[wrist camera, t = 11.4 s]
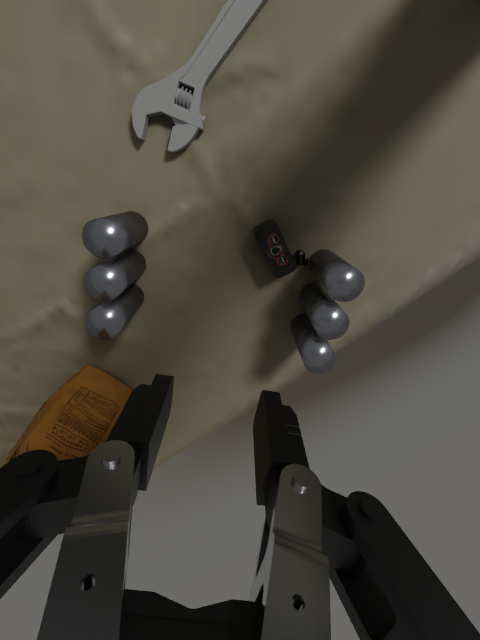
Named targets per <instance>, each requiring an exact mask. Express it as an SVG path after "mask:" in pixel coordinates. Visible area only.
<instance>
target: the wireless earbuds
mask: <svg viewBox="0 0 480 640" xmlns="http://www.w3.org/2000/svg"><path fill="white" fill-rule="evenodd" d="M254 235H255V237H256V239H257V241H258V243H259V246H260V248H261V250H262V252H263V254H264V256H265V258H266V260H267V262H268V264H269V266H270V268H271V270H272V273H273V275H274V276H275V277H276V278H281V277H283V276H285V275H287V274H289V273H291V272H293V271H294V270H295V268H296V266H295V263H294V261H293V259H292V256H291V254H290V252H289V250H288V247H287V245H286V243H285V241H284V238H283V236H282V234H281V232H280V229H279V227H278V225H277V223H275V222H274V221H273V220H267V221H265V222H263V223H261V224H260V225H258V226H256V227H255V228H254ZM296 264H297V265H307V264H309V261H308V259H305V253H304V251H303V250H297V252H296Z"/></svg>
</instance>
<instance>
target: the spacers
mask: <svg viewBox="0 0 480 640" xmlns="http://www.w3.org/2000/svg"><path fill="white" fill-rule="evenodd" d="M147 234H148V224H147V222H146V220H145V218H144V217H143V216H142V215H140V214H139V213H137V212H133V211H129V212H124V213H120V214H115V215H111V216H106V217H102V218H97V219H93V220H91V221H89V222H88V223H86V225H85V226H84V228H83V231H82V239H83V242H84V245H85V246H86V248H87V249H88V250H89V251H90V252H91V253H92V254H93V255H95V256H97V257H100V258H109V259H107V260H105V261H104V262H102V263H100V264H98V265H96V266H95V267H93V268H91V269H89V270H88V271H87V272H86V274H85V276H84V287H85V289H86V291H87V292H88V293H89V295H90V296H92V297H93V298H95V299H96V300H99V301H102V302H101V303H100V304H98V305H97V306H96V307H95V308H94V309H92V310H91V311H90V312H89V313H88V314H87V315H86V317H85V326H86V328H87V330H88V332H89V333H90V334H91V335H93V336H94V337H96V338H98V339H102V340H109V339H112V338H114V337H115V336H116V335H117V334H118V333H119V332H120V330H121V329H122V328H123V327H124V326H125V324H126V323H127V322H128V321H129V319H130V318H131V317H132V316H133V314H134V313H135V312H136V311H137V310H138V308H139V307H140V306H141V305H142V303H143V301H144V294H143V291H142V290H141V289H140V288H139V287H138V286H137V285H135V284H132V283H133V282H134V281H135V280H136V279H137V278H138V277H139V276H140V275H142V274H143V272H144V271H145V269H146V261H145V258H144V257H143V255H142V254H141V253H140V252H138V251H136V250H134V249H128V248H130V247H131V246H133V245H135V244H137V243H138V242H140V241H142V240H143V239H145V237H146V236H147ZM309 270H310V272H311V273H312V274H313V275H314V277H315V278H316V279H317V280H318V281H319V282H320V283H321V285H322V286H323V287H324V288H325V289H326V290H327V291H326V290H325V289H324V288H323V287H322V286H321V285H320V284H317V283H311V284H308V285H306V286H305V287H303V289H302V290H301V291H300V294H299V300H300V303H301V304H302V306H303V308H304V310H305V312H306V314H301V315H298V316H296V317H295V318H294V319H293V320H292V322H291V326H290V327H291V331H292V334H293V336H294V339H295V342H296V344H297V347H298V350H299V352H300V355H301V358H302V360H303V363H304V366H305V368H306V369H307V370H308V371H310V372H312V373H324V372H326V371H328V370H330V369H331V368H332V367H333V365H334V363H335V360H336V356H335V353H334V351H333V350H332V348H331V346H330V345H329V343H328V341H327V340H326V339H328V340H333V339H337V338H339V337H341V336H342V335H344V334H345V332H346V331H347V329H348V327H349V318H348V316H347V314H346V313H345V312H344V311H343V310H342V309H341V307H340V306H339V305H338V304H337V303H336V302H335V300H337V301H341V302H347V301H351V300H353V299H355V298H356V297H358V296H359V295H360V293H361V292H362V290H363V288H364V284H365V280H364V276H363V274H362V273H361V272H360V271H359V270H358V269H356V268H355V267H353V266H352V265H350V264H349V263H347V262H346V261H345V260H343V259H342V258H340V257H339V256H337V255H336V254H334V253H333V252H331V251H329V250H326V249H323V250H319V251H317V252H315V253H314V254H313V255H312V256H311V258H310V260H309ZM329 294H330V295H331V296H332V297H333V298H334V299H335V300H334V299H333V298H332V297H331V296H330V295H329Z"/></svg>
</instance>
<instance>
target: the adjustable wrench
mask: <svg viewBox="0 0 480 640" xmlns="http://www.w3.org/2000/svg"><path fill="white" fill-rule="evenodd" d="M266 1H267V0H228V1H227V3H226V4H225V6H224V7H223V9H222V10H221V12H220V14H219V15H218V17H217V18H216V20H215V21H214V23H213V24H212V26H211V28H210V29H209V31H208V32H207V34H206V35H205V37H204V38H203V40H202V42H201V43H200V45H199V46H198V48H197V49H196V51H195V52H194V54H193V56H192V57H191V58H190V59H189V61H188V62H187V63H186V64H185V65H184V66H182V67H181V68H180V69H179V70H177V71H175V72H174V73H172V74H171V75H169V76H168V77H166V78H164V79H162V80H160V81H158V82H156V83H153V84H151V85H149V86H147V87H145V88H144V89H142V90H141V91H140V92H139V94H138V95H137V96H136V98H135V100H134V104H133V107H132V121H133V127H134V130H135V132H136V135H137V136H138V137H139V138H140V139H142V140H144V141H145V137H146V132H147V127H148V122H149V117H152V116H156V115H160V114H165V115H167V116H169V117H171V119H172V120H173V121H174V123H175V125H176V126H173V128H172V132H171V137H170V141H169V146H168V150H169V151H171V152H173V153H175V152H178V151H180V150H182V149H184V148H185V147H187V146H188V145H189V144H190V143H191V142H192V141H193V139H194V138H195V136H196V135H197V133H198V132H199V129H200V130H202V131H204V124H205V121H206V117H205V116H202V115H201V106H202V97H203V93H204V90H205V88H206V85H207V83H208V82H209V80H210V78H211V77H212V76H213V74H214V73H215V71H216V70H217V69H218V67H219V66H220V64H221V63H222V62H223V60H224V59H225V58H226V56H227V55H228V53H229V52H230V51H231V49H232V48H233V46H234V45H235V44H236V42H237V41H238V40H239V38H240V37H241V35H242V34H243V33H244V31H245V30H246V28H247V27H248V26H249V24H250V23H251V22H252V20H253V19H254V17H255V16H256V15H257V13H258V12H259V11H260V9H261V8H262V6H263V5H264V4H265V2H266ZM181 85H184V86H186V87H188V88H191V89H193V90H194V92H193V94H191V90H190V91H189V93H188V89H187V88H186V90H185V91H184V87H183V86H182V89H180V86H181Z"/></svg>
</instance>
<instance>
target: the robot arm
mask: <svg viewBox="0 0 480 640" xmlns="http://www.w3.org/2000/svg"><path fill="white" fill-rule="evenodd" d="M173 384H174V376H168V375H161V374H156V375H155V378H154V380H153V382H152V384H151V385H145V384H141V385H139V386H138V387H137V388H136V389H134V390H133V391H132V392H131V394H130V396H129V398H128V400H127V403H126V404H125V405H124V407H123V410H122V411H121V413H120V415H119V417H118V419H117V421H116V423H115V425H114V426H113V428H112V430H111V432H110V434H109V436H108V438H107V440H106V441H105V442H104V443H102V444H100V445H98V446H97V447H96V448H94V449H93V450H92V452H91V453H90V454H89V455H86V456H83V457H78V458H72V459H66V460H59V461H57V458H56V456H55V455H54V454H53V453H52V452H50V451H47V450H32V451H28V452H25V453H23V454H20V455H18V456H17V457H15V458H13V459H12V460H11V461H9V462H8V463H7V464H5V465H4V466H3V467H1V468H0V599H1V598H2V597H3V595H4V594H5V593H6V592H7V591H8V590H9V589H10V588H11V586H12V585H13V584H14V583H15V582H16V581H17V580H18V579H19V577H20V576H21V575H22V574H23V573H24V572H25V571H26V570H27V568H28V567H29V566H30V565H31V564H32V563H33V562H34V561H35V559H36V558H37V557H38V556H39V555H40V554H41V553H42V552H43V550H44V549H45V548H46V547H47V546H48V545H49V544H50V542H51V541H52V540H53V539H54V538H55V537H56V536H57V535H58V534H62V533H64V536H63V540H62V544H61V548H60V551H59V555H58V559H57V563H56V567H55V571H54V575H53V578H52V582H51V586H50V590H49V594H48V598H47V602H46V606H45V609H44V614H43V617H42V621H41V625H40V629H39V633H38V637H37V640H331V624H330V584H329V583H330V581H329V577H330V579H331V581H332V583H333V585H334V587H335V589H336V591H337V593H338V596H339V597H340V600H341V602H342V604H343V606H344V608H345V610H346V612H347V614H348V616H349V618H350V620H351V622H352V624H353V626H354V628H355V630H356V632H357V635H358V637H359V638H360V640H480V634H479V632H478V631H477V630H476V628H475V627H474V625H473V624H472V623H471V621H470V620H469V619H468V618H467V616H466V615H465V613H464V612H463V611H462V609H461V608H460V607H459V605H458V604H457V603H456V601H455V600H454V599H453V597H452V596H451V595H450V593H449V592H448V591H447V589H446V588H445V587H444V585H443V584H442V583H441V581H440V580H439V579H438V577H437V576H436V575H435V573H434V572H433V571H432V569H431V568H430V567H429V565H428V564H427V563H426V561H425V560H424V559H423V557H422V556H421V555H420V553H419V552H418V550H417V549H416V548H415V547H414V545H413V544H412V542H411V541H410V540H409V539H408V537H407V536H406V535H405V533H404V532H403V530H402V529H401V528H400V526H399V525H398V524H397V522H396V521H395V520H394V518H393V517H392V516H391V514H390V513H389V512H388V510H387V509H386V508H385V507H384V505H383V504H382V503H381V502H380V501H379V500H378V499H376V498H375V497H374V496H372V495H370V494H368V493H365V492H361V491H356V492H353V493H351V494H350V495H349V496H348V498H346V497H344V496H342V495H340V494H337V493H335V492H333V491H331V490H329V489H327V488H325V487H324V486H322V485H321V484H320V481H319V479H318V477H317V476H316V475H315V474H314V472H312V471H311V470H310V468H309V465H308V461H307V457H306V452H305V448H304V445H303V440H302V436H301V431H300V428H299V423H298V419H297V415H296V414H295V413H294V411H293V410H292V408H291V407H290V406H285V405H282V402H281V397H280V393H278V392H272V391H266V390H262V392H261V395H260V399H259V403H258V406H257V410H256V414H255V418H254V425H253V436H254V437H253V438H254V457H255V479H256V497H257V498H256V499H257V505H264V506H265V510H266V516H265V519H264V522H263V527H262V533H261V538H260V544H259V550H258V556H257V561H256V567H255V573H254V578H253V583H252V587H251V591H250V595H249V599H248V601H243V600H228V601H224V602H220V603H216V604H213V605H209V606H205V607H201V608H197V609H190V608H187V607H185V606H183V605H181V604H179V603H177V602H174V601H172V600H170V599H168V598H166V597H163V596H161V595H159V594H157V593H155V592H149V591H138V590H128V589H127V588H126V587H127V573H128V559H129V546H130V533H131V520H132V507H133V504H134V502H135V499H136V496H137V493H138V490H143V491H146V489H147V486H148V483H149V480H150V476H151V473H152V470H153V467H154V463H155V460H156V457H157V454H158V451H159V447H160V444H161V441H162V438H163V434H164V431H165V428H166V425H167V421H168V418H169V414H170V409H171V402H172V393H173Z"/></svg>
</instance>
